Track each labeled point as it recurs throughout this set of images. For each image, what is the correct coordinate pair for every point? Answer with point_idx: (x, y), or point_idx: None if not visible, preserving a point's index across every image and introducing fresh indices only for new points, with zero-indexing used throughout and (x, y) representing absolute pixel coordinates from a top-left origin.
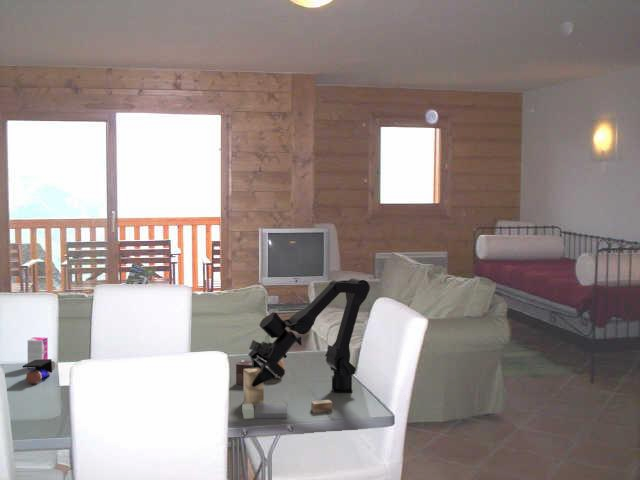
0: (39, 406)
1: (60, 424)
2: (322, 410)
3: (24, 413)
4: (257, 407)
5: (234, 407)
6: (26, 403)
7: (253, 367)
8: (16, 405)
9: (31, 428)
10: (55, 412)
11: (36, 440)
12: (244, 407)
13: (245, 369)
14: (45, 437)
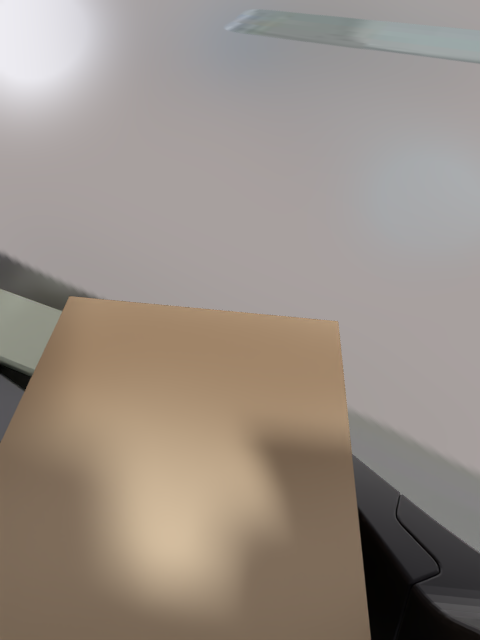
0: (440, 41)
1: (306, 38)
2: None
3: (399, 27)
4: (15, 409)
5: None
6: (466, 36)
7: (404, 586)
8: (456, 29)
9: (305, 21)
10: (389, 45)
11: (238, 16)
12: (11, 299)
13: (292, 334)
14: (245, 21)
